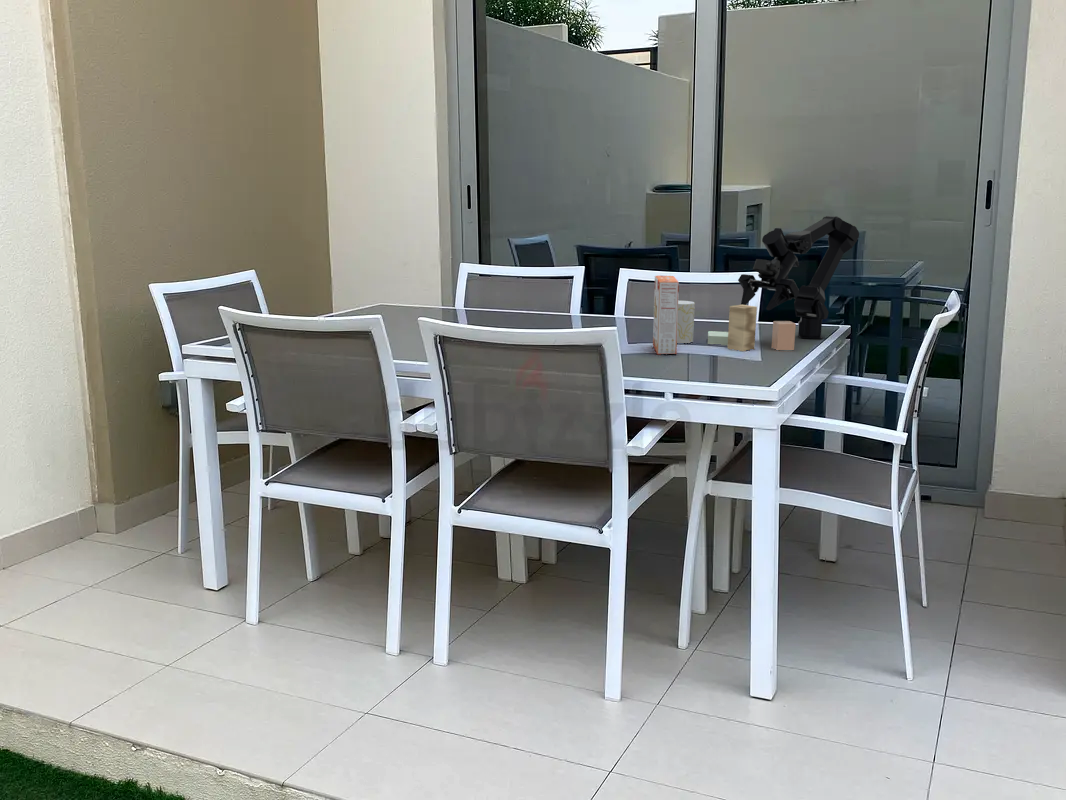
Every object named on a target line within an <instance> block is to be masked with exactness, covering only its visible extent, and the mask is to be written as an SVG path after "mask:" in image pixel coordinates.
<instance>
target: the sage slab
mask: <svg viewBox="0 0 1066 800" xmlns="http://www.w3.org/2000/svg"><path fill="white" fill-rule="evenodd" d="M708 344H721V345H720V346H728V331H714V330H713V331H709V330H708V332H707V345H708Z"/></svg>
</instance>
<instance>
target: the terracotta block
mask: <svg viewBox="0 0 1066 800" xmlns="http://www.w3.org/2000/svg"><path fill="white" fill-rule="evenodd" d="M771 335H772V336H771V349H772V348H774V349H776V350H794V351H795V343H796V342H795V341H796V340H795V339H796V323H795V322H793V321H790V320H773V323H772V334H771ZM774 349H773V350H774ZM776 350H775V351H776Z"/></svg>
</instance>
